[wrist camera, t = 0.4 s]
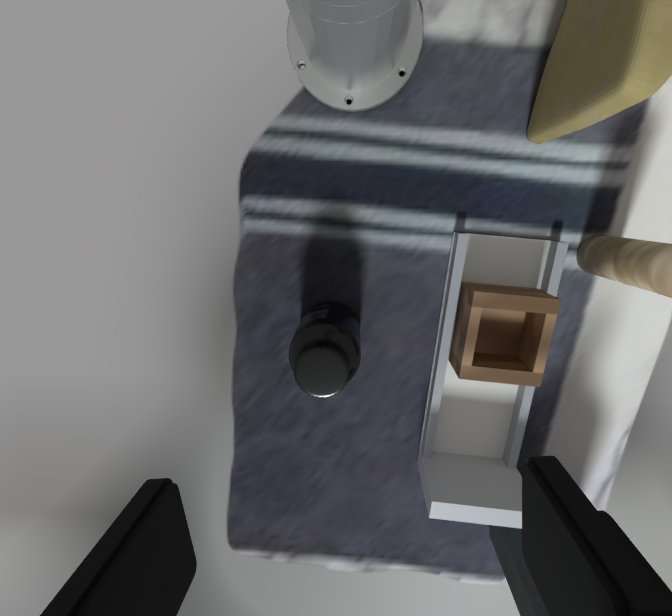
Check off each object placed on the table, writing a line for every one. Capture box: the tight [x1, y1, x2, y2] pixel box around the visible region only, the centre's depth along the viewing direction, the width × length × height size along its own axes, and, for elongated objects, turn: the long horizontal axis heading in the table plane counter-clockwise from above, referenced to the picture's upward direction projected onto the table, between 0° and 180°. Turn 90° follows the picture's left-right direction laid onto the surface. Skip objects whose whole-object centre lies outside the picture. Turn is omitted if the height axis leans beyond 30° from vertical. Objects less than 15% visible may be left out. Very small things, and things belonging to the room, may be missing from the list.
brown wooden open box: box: [448, 281, 561, 387], centre depth 40 cm, size 9×8×5 cm
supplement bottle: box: [289, 302, 361, 398], centre depth 39 cm, size 7×7×12 cm
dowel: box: [577, 235, 672, 298], centre depth 35 cm, size 4×4×12 cm
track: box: [417, 232, 569, 529], centre depth 40 cm, size 28×11×9 cm, turn 175°
